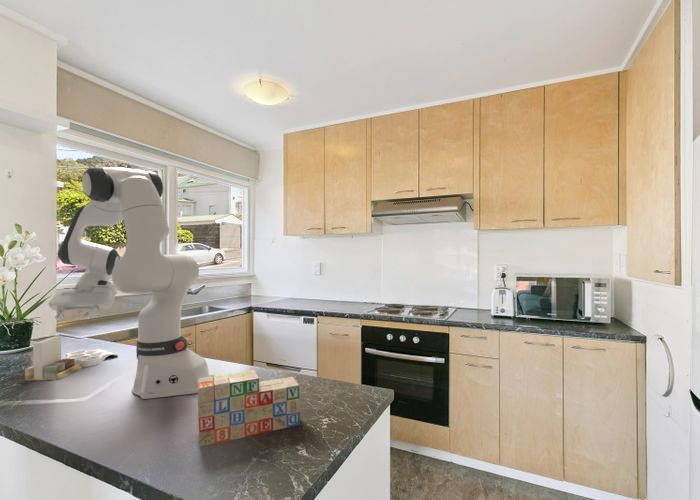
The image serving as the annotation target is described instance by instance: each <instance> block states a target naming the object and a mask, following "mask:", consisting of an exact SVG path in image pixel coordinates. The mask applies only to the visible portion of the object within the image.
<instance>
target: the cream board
mask: <svg viewBox="0 0 700 500" xmlns="http://www.w3.org/2000/svg"><path fill="white" fill-rule="evenodd" d="M32 345H33V348H32V349H33V353H32V354H33V355H32V357H33V358H32V359H33V365H34V379H43V378H44V373H43V368H44V367H46V366H48V365H51V364H53V363H55V362H58V361H60V360H62V337H61V336H52V337H48V338H45V339H42V340H40V341H37V342H33V344H32Z"/></svg>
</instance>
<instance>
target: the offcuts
mask: <svg viewBox="0 0 700 500" xmlns="http://www.w3.org/2000/svg"><path fill="white" fill-rule="evenodd" d="M73 366H75V359H66V358H63V359H62V358H61V360H60V361H58V362H55V363H53V364H51V365H48V366H46V367H44V368H43V373H44V379H53V380H55V379H54V378H57V374H58V373H60V372H62V371H65V370H67V369H69V368H71V367H73Z"/></svg>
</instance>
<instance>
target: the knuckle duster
mask: <svg viewBox="0 0 700 500" xmlns="http://www.w3.org/2000/svg"><path fill="white" fill-rule="evenodd" d="M109 356H114V357H117V358H119V355H118V354H117V353H113V352H110V351H108V350H105V349H102V348H97V349H91V350H75V351H71V352H68V353H66V354H65V359H75V365H77V364H82V368H85V367H93V366H97V365H99V364H101V363H102V362H104V361H105V359H106V358H107V357H109Z"/></svg>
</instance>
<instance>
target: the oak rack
mask: <svg viewBox="0 0 700 500" xmlns="http://www.w3.org/2000/svg"><path fill="white" fill-rule="evenodd" d="M81 369H83V367H82V364H77V365H75V366H73V367H71V368H69V369H67V370H65V371H62V372H60V373H58V374H57V378H54V379H44V378H43V379H34V364H33V365H31V366H29V367H26V368H25V369H24V381H29V382H30V381H48V380H51V381H52V380H61V379H63V378H65V377H67V376H69V375H71V374H73V373H75V372H78V371H79V370H81Z"/></svg>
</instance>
